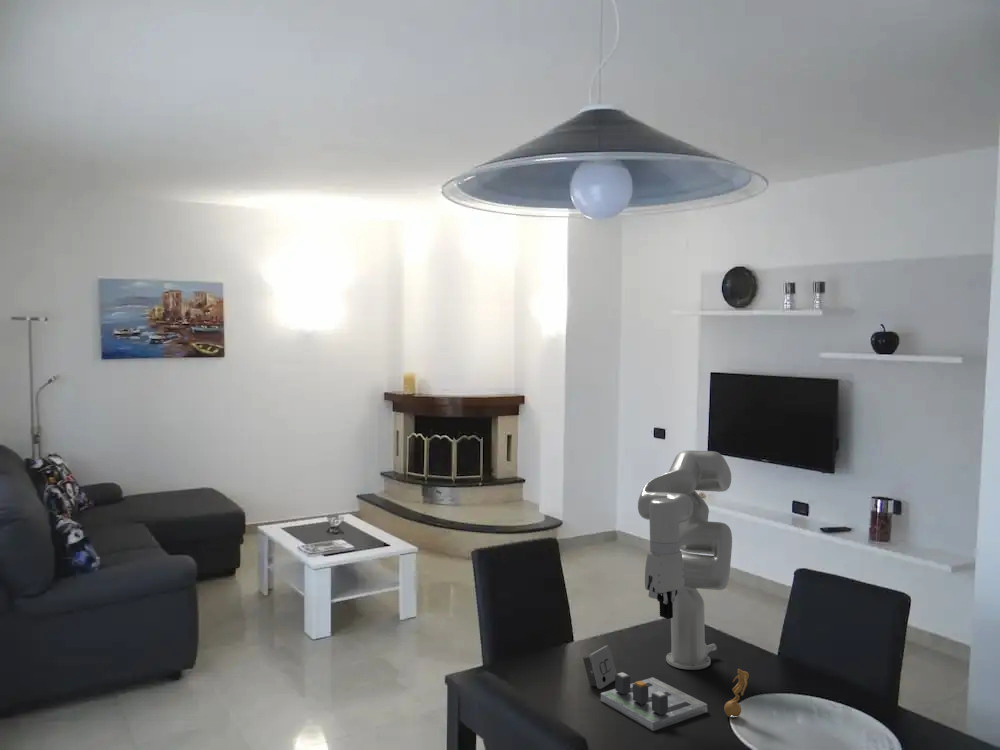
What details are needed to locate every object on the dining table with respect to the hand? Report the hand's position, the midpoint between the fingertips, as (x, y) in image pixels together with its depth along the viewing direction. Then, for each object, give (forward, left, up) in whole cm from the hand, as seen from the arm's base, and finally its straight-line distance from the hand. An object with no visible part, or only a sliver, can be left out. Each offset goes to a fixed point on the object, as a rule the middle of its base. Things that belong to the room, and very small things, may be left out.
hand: (666, 616), depth 206 cm
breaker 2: (+9, +7, -20) cm, 23 cm away
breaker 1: (+9, -7, -20) cm, 23 cm away
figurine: (-8, +16, -22) cm, 29 cm away
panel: (+5, 0, -22) cm, 23 cm away
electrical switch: (+7, -19, -22) cm, 30 cm away
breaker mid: (+9, 0, -20) cm, 22 cm away
